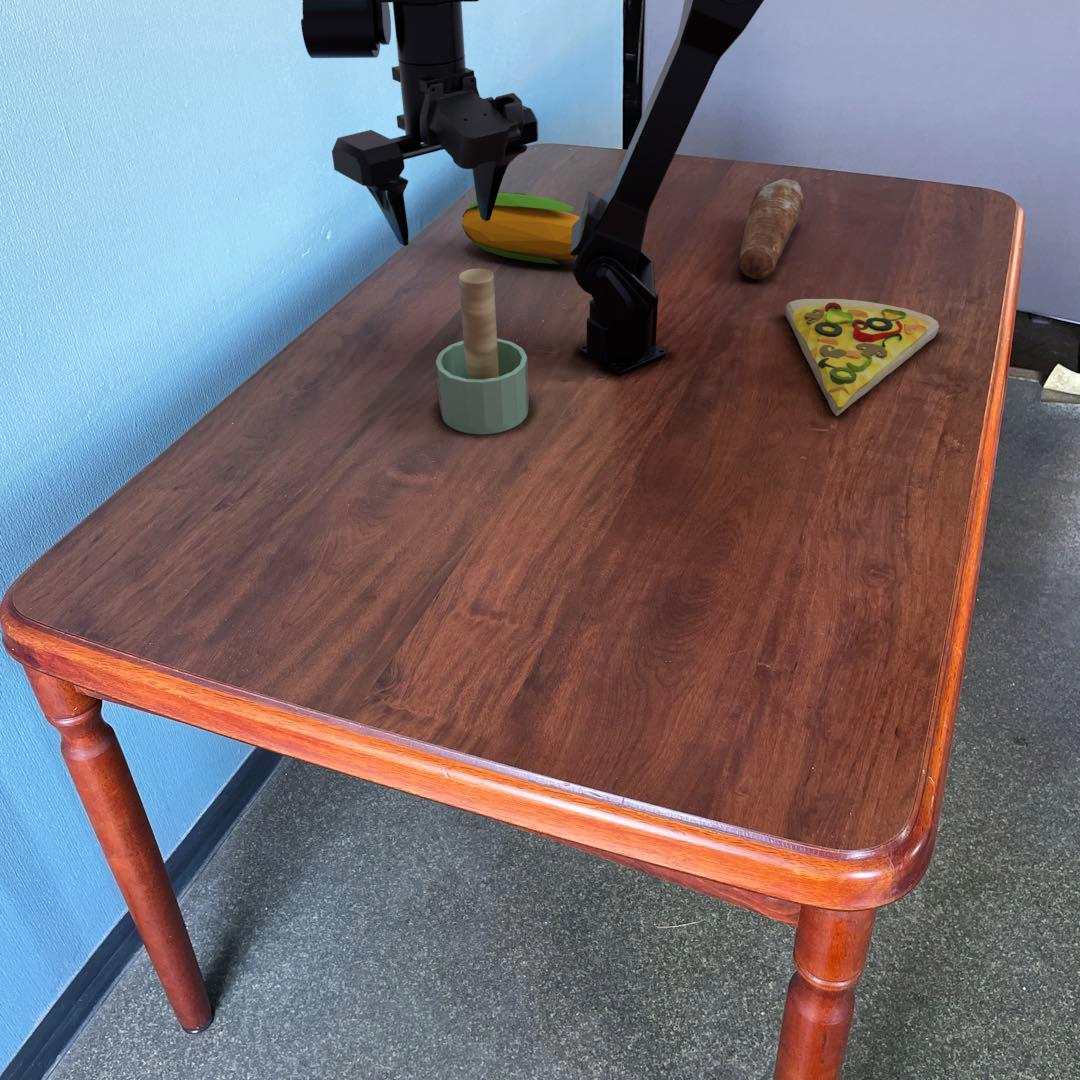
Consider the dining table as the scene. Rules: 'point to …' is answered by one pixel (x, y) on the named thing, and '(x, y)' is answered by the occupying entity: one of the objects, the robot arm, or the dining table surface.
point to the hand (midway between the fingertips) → (445, 231)
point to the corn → (523, 228)
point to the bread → (770, 226)
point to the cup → (483, 391)
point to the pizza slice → (855, 343)
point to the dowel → (479, 323)
